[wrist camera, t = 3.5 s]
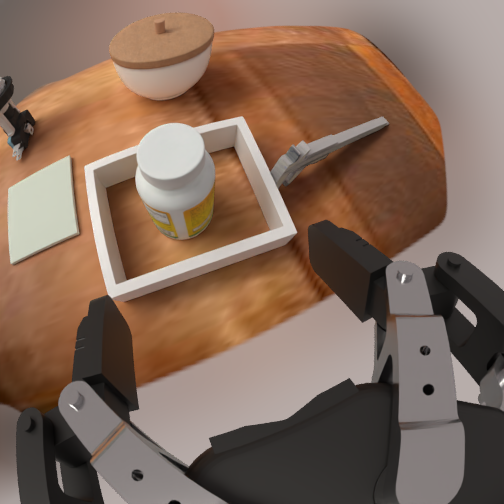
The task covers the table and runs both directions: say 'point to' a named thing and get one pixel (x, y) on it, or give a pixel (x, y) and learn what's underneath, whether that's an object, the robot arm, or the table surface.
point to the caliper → (318, 151)
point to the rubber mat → (41, 210)
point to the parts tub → (279, 235)
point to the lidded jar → (163, 54)
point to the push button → (14, 119)
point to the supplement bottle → (176, 180)
